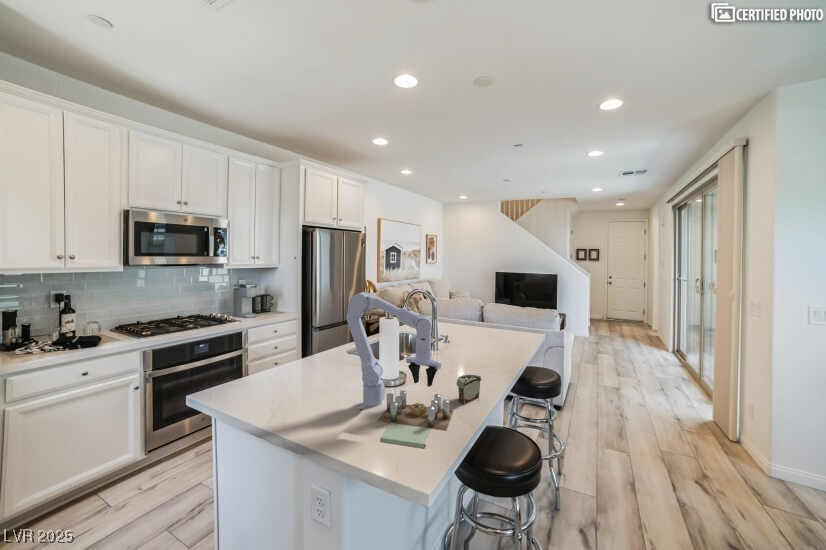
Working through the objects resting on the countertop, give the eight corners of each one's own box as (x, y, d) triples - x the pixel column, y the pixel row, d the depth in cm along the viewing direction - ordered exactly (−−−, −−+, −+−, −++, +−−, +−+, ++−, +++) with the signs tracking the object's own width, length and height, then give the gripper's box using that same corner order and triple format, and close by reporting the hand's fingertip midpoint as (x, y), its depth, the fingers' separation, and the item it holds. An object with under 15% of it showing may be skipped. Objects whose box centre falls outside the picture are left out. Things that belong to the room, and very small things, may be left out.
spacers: (391, 404, 133) (391, 389, 133) (451, 412, 127) (451, 395, 127) (378, 420, 120) (378, 403, 120) (445, 429, 114) (445, 411, 114)
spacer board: (391, 406, 135) (391, 402, 135) (453, 414, 129) (453, 410, 129) (376, 425, 120) (376, 421, 120) (446, 435, 114) (446, 430, 114)
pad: (390, 427, 118) (390, 423, 118) (431, 433, 115) (431, 428, 115) (380, 442, 109) (380, 437, 109) (424, 449, 105) (424, 444, 105)
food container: (468, 395, 146) (468, 372, 146) (480, 400, 142) (481, 375, 141) (449, 404, 138) (450, 379, 137) (462, 409, 133) (462, 383, 133)
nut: (408, 415, 125) (408, 407, 124) (412, 409, 129) (412, 402, 129) (424, 417, 123) (424, 409, 123) (427, 411, 128) (427, 404, 128)
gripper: (401, 348, 133) (401, 383, 134) (434, 354, 125) (433, 391, 126) (412, 344, 139) (411, 378, 140) (444, 350, 131) (443, 385, 132)
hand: (423, 384), depth 133 cm, fingers open, 5 cm apart
